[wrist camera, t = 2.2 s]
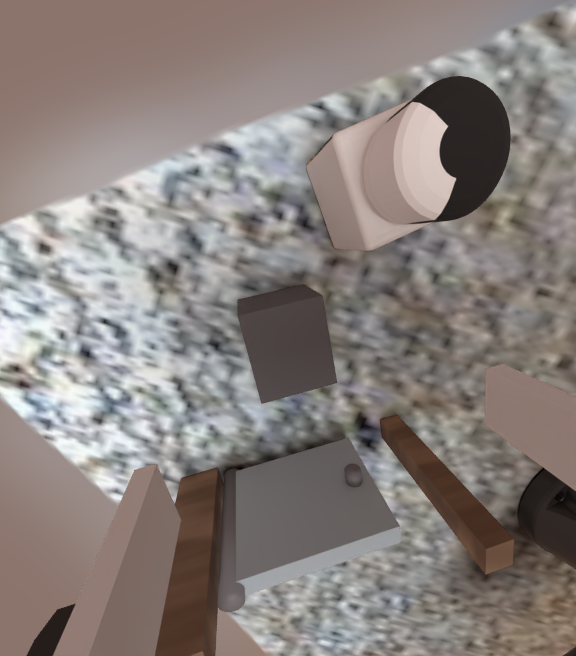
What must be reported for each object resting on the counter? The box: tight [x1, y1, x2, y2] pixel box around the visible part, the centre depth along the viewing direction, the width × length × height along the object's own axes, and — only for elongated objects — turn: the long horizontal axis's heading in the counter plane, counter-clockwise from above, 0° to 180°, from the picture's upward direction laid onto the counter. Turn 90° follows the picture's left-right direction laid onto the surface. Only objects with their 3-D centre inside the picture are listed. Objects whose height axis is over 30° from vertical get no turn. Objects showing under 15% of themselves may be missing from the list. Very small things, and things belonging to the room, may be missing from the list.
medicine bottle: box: [306, 76, 510, 251], centre depth 19 cm, size 7×7×12 cm
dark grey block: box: [238, 284, 337, 404], centre depth 24 cm, size 7×6×6 cm
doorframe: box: [155, 415, 514, 656], centre depth 24 cm, size 2×24×14 cm, turn 101°
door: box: [217, 438, 401, 612], centre depth 25 cm, size 3×13×11 cm, turn 101°
